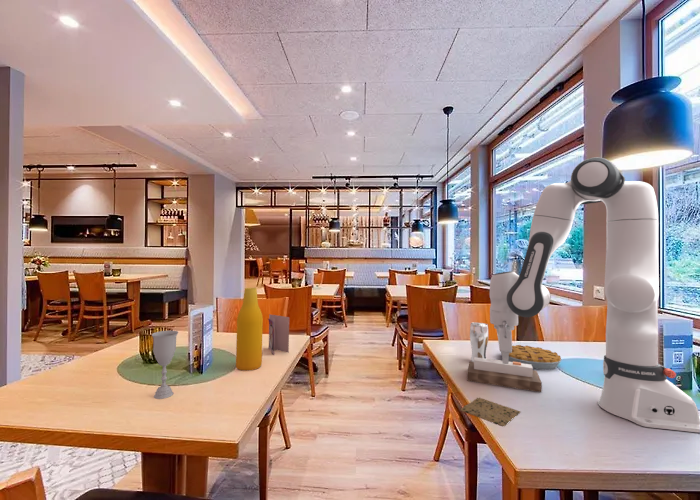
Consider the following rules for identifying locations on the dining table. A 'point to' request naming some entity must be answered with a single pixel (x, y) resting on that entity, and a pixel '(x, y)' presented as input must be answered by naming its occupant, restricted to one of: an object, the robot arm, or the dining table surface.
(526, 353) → the pie
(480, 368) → the power strip
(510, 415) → the seeded crispbread
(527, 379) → the socket board
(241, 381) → the dining table surface
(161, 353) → the chalice
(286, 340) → the greeting card
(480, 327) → the beer glass
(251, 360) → the beer bottle
